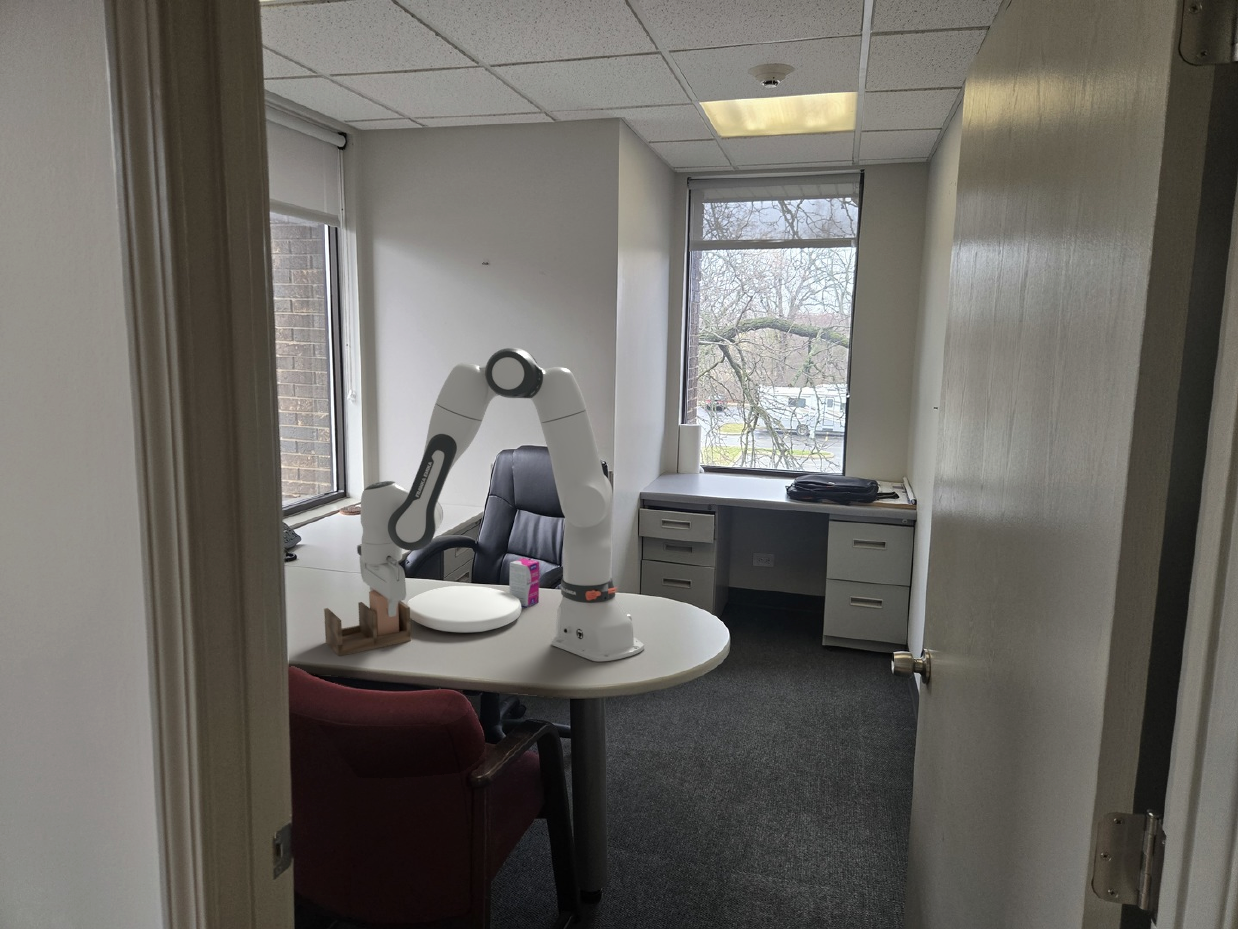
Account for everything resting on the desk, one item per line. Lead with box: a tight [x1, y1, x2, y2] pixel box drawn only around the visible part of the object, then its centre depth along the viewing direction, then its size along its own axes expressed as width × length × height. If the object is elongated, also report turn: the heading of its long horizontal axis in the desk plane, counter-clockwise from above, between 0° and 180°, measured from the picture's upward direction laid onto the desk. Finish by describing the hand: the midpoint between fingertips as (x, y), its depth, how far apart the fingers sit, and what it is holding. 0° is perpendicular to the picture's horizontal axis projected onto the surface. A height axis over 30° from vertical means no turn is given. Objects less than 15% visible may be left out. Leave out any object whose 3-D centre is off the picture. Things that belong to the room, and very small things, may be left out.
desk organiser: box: [323, 600, 412, 657], centre depth 187 cm, size 10×16×8 cm, turn 126°
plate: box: [406, 585, 522, 633], centre depth 204 cm, size 28×6×27 cm
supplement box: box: [508, 557, 540, 609], centre depth 215 cm, size 6×6×12 cm
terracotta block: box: [368, 590, 399, 636], centre depth 189 cm, size 5×5×10 cm
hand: (384, 610), depth 189 cm, fingers open, 8 cm apart
